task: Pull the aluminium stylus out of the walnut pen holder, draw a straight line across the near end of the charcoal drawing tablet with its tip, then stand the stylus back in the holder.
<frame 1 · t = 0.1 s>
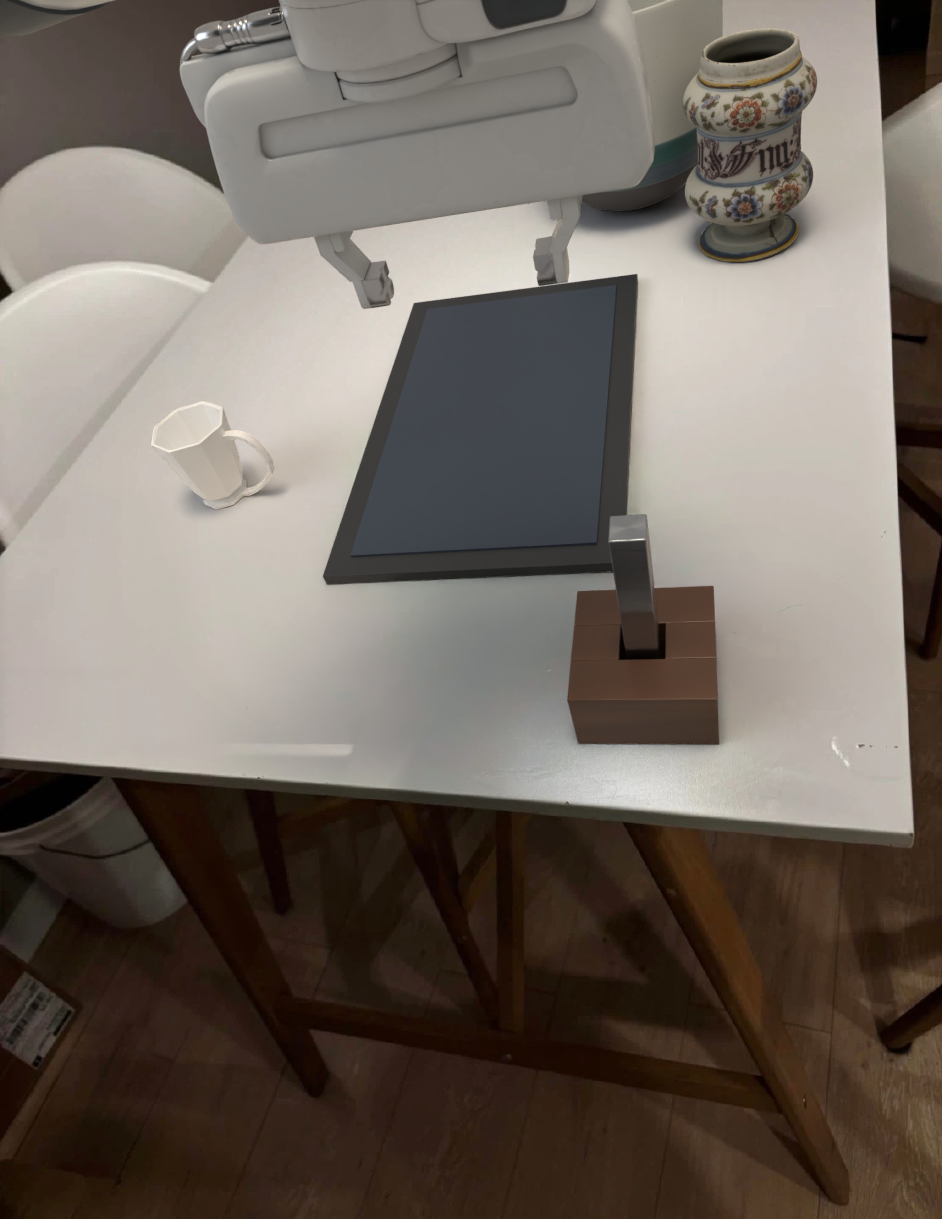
hand: (464, 290, 46), 26 cm above the table, tool pointing down, fingers open, 8 cm apart
planter: (633, 197, 103), on the table
cup: (240, 494, 83), on the table
pen holder: (648, 687, 59), on the table
drawing tablet: (500, 416, 82), on the table
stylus: (639, 615, 54), in the pen holder
apothecary jar: (747, 239, 92), on the table
pot: (453, 141, 126), on the table
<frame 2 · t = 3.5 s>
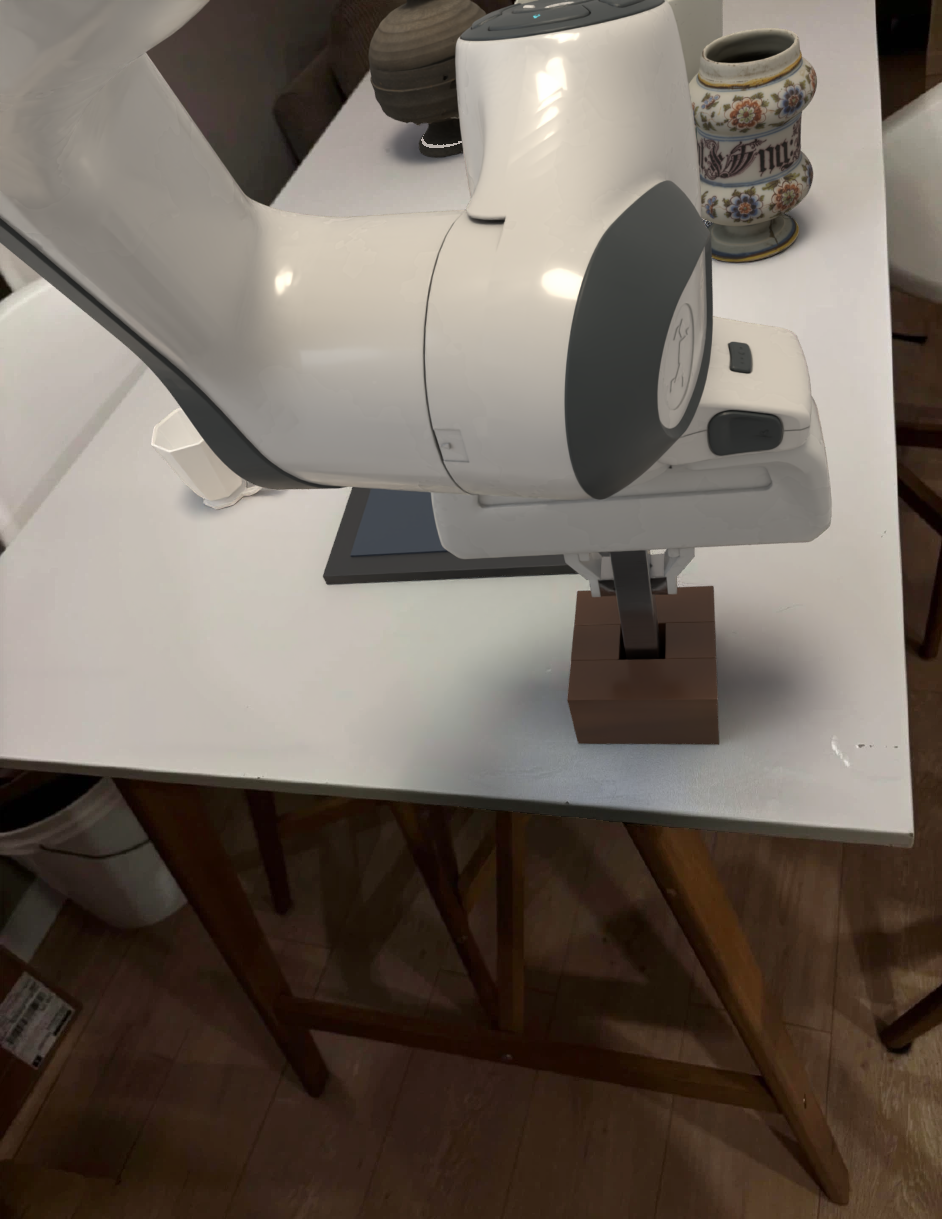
hand: (635, 587, 52), 10 cm above the table, tool pointing down, fingers closed on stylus, 2 cm apart
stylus: (638, 615, 54), in the pen holder, touching gripper
everything else where it was.
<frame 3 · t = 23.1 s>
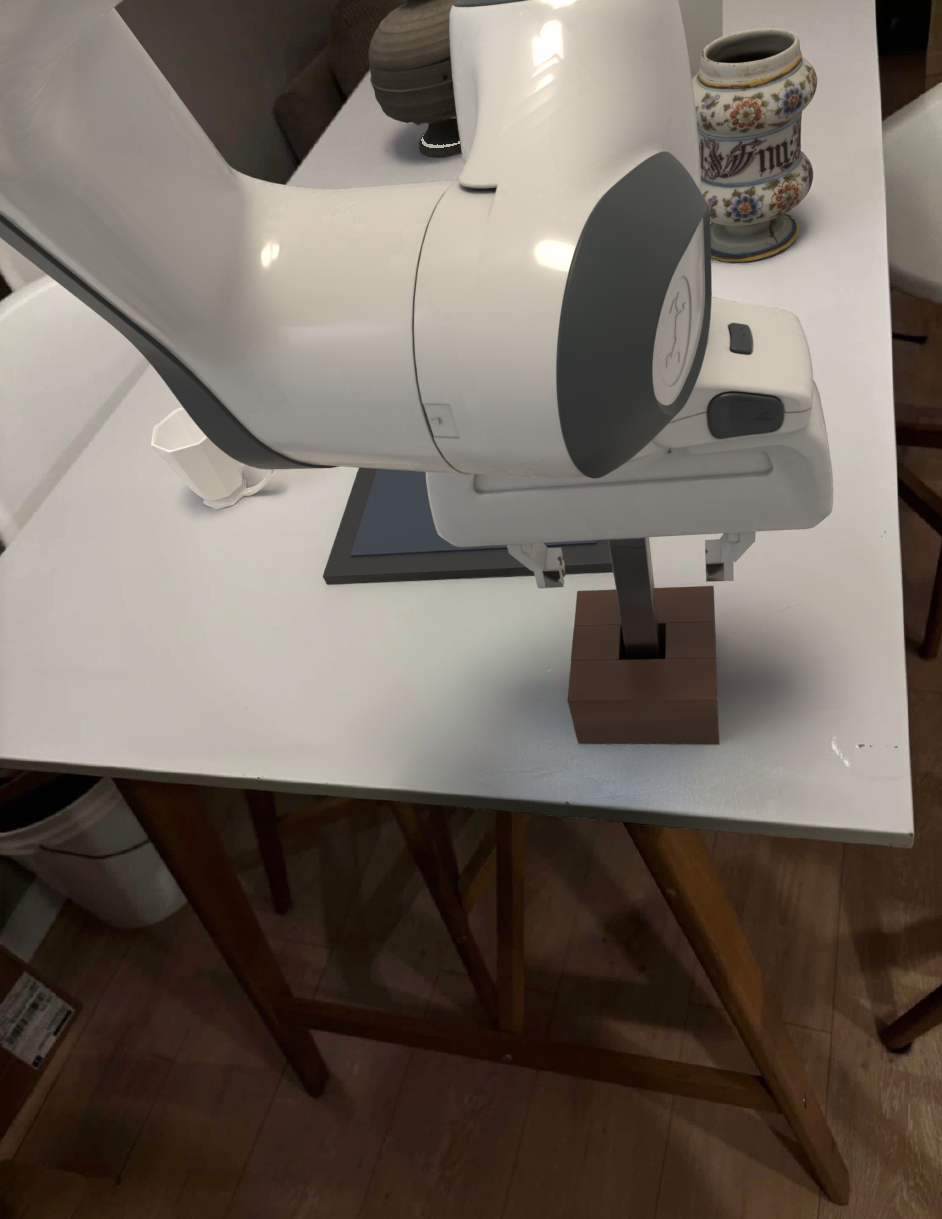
hand: (633, 576, 51), 11 cm above the table, tool pointing down, fingers open, 8 cm apart
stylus: (638, 613, 54), in the pen holder
everything else where it was.
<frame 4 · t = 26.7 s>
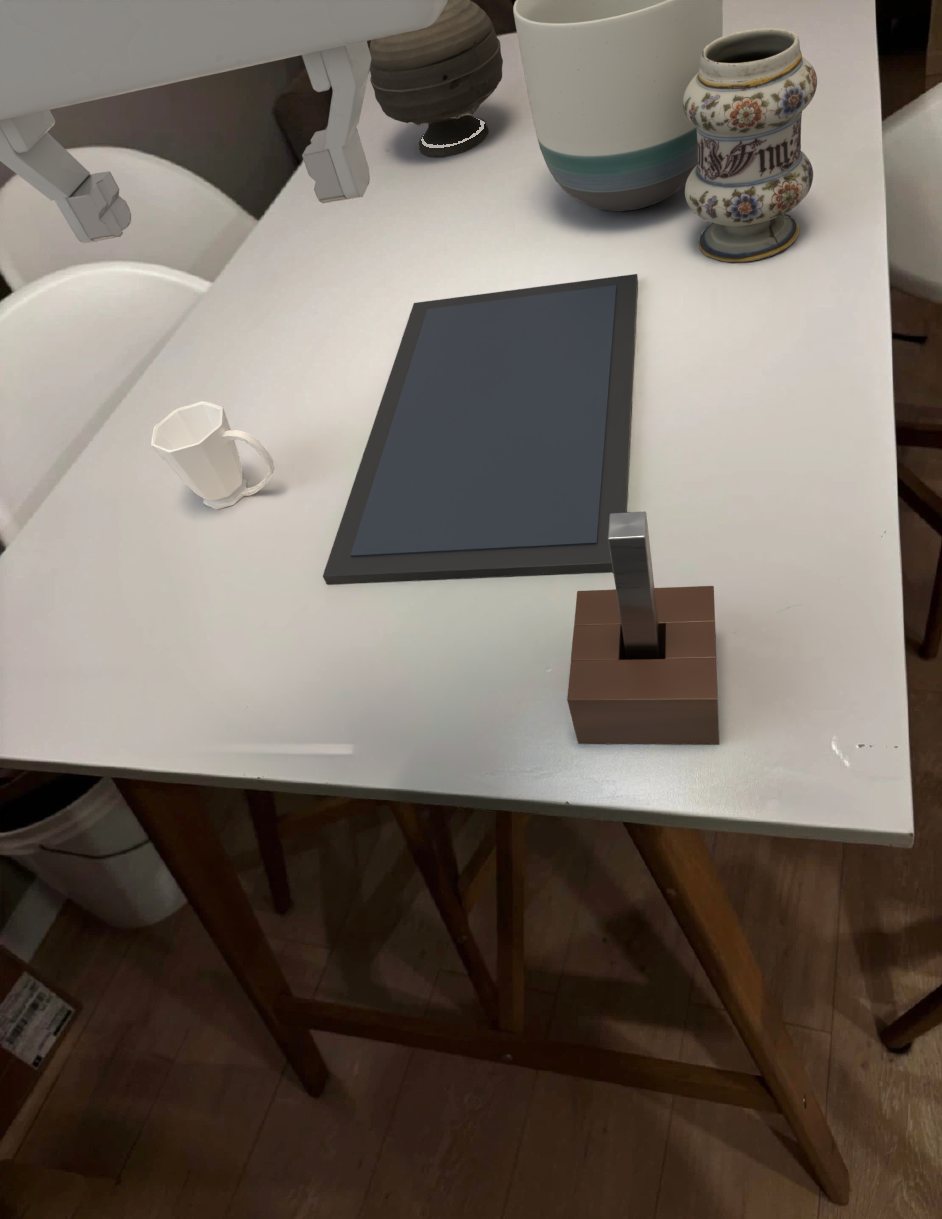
hand: (223, 214, 31), 37 cm above the table, tool pointing down, fingers open, 8 cm apart
nothing on the table moved.
at the end: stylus 0.2 cm off-centre in the pen holder, point 7.5 cm above the pen holder's base; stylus tilted 0°; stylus touching table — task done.
